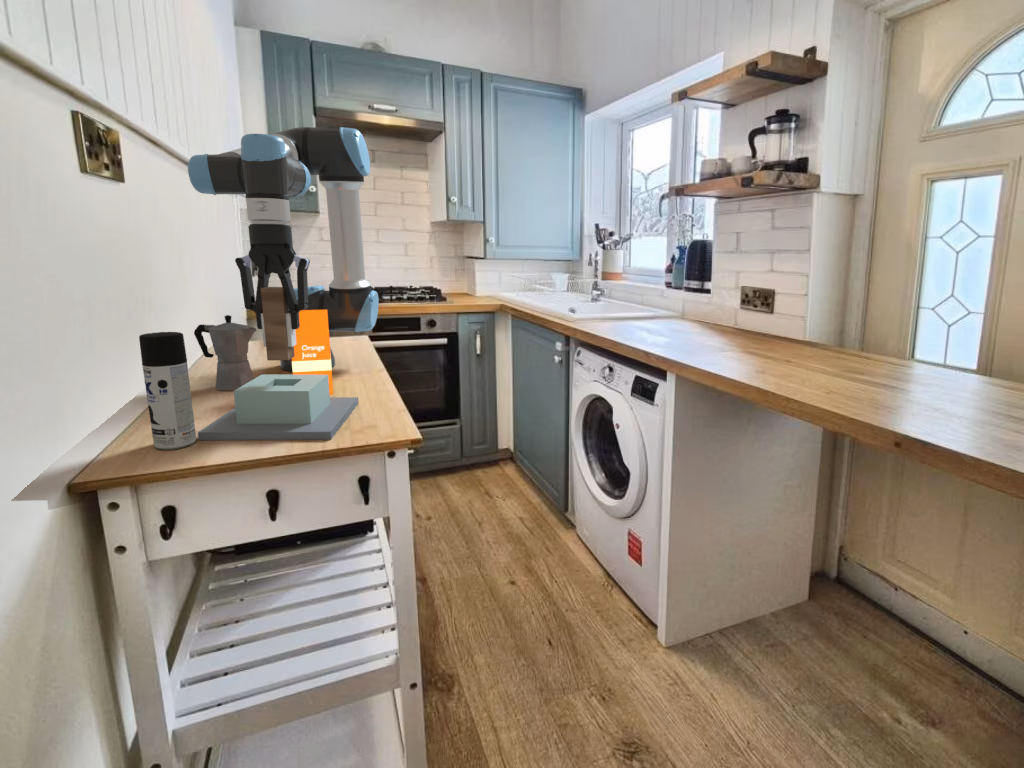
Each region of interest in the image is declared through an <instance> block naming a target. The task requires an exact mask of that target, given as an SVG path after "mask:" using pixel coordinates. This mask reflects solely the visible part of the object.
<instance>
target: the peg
mask: <svg viewBox="0 0 1024 768" xmlns="http://www.w3.org/2000/svg"><path fill="white" fill-rule="evenodd" d="M261 296H262V307H263V318H264V329H265V340H266V347H265V348H266V358H267V361H280V360H290V359H291V358H293V357H295V353H294V346H293V347H288V337H287V325H286V313H289V312H288V311H289V308H288V305H287V301H286V298H285V294H284V288H282V286H268V287H266V288H261Z"/></svg>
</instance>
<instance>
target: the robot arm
mask: <svg viewBox="0 0 1024 768" xmlns="http://www.w3.org/2000/svg"><path fill="white" fill-rule="evenodd" d="M368 149H369V148H368V146H367V142H366V140H365V138H364V136H363V134H362V133H361V132H360V131H359V129H356V128H352V127H343V126H340V127H336V126H335V127H333V126H332V127H331V126H330V127H329V126H328V127H325V126H324V127H320V126H319V127H318V126H317V127H313V126H312V127H308V126H299V127H292V128H289V129H285V130H281V131H279V132H278V131H277V132H275V133H271V134H268V133H247V134H244V135H242V136H241V138H240V148H236V149H232V150H230V151H227V152H220V153H218V154H208V153H204V154H195V155H192V156H191V157H190V159H189V161H188V162H187V163H188V164H187V174H188V178H189V181H190V184H191V186H192V187H193V188H194V190H195V191H197V192H198V193H200V194H205V195H206V194H207V195H214V196H217V195H245V202H246V203H245V205H246V215H247V220H248V221H250V222H251V224H249V225H248V237H249V244H250V245H249V246H250V249H249V251H248V254H246V255H244V256H242V257H236V258H235V259H234V261H235V262H234V263H235V264H236V266H237V268H238V270H239V275H240V283H241V289H242V297H243V302H244V303H243V304H244V305H243V306H244V309H246V311H247V310H250V311H252V312H254V313H255V317H256V327H257V330H262V331H261V333H262V343H263V347H264V348H266V340H265V329H264V318H263V307H262V296H261V288H266V287H269V282H270V278H271V274H276V275H277V277H278V278H279V280H280V283H281V287H282V288H284V294H285V298H286V301H287V305H288V308H289V311H288V312H289V313H286V325H287V337H288V347H293V346H295V345H296V332H295V329H299V327H300V321H299V312H300V311H301V310H327V314H328V329H329V332H355V333H360V332H369V331H370V332H371V331H372V329H374V328H375V326H376V323H377V319H378V315H379V314H378V313H379V304H380V303H379V300H380V299H379V293H378V292H377V291H376V290H373V289H372V284H371V282H370V281H369V280H368V279H367V278H366V273H365V255H364V246H363V245H364V242H363V229H362V215H361V199H360V189H361V187H363V185H364V184H365V177H368V176H369V175H370V173H371V160H370V154H369V150H368ZM311 176H318V182H319V184H320V185H321V186H323V187H324V188H325V195H326V205H327V216H328V228H329V239H330V251H331V262H332V273H333V279H332V281H331V282H330V283H329V284H328V290H325V287H324V285H322V284H321V285H318V284H317V285H311V286H310V285H309V284H308V268H309V266H310V263H311V260H310V259H309V258H307V257H306V258H305V257H302V256H299V255H298V254H297V253H296V251H295V250H294V247H293V245H294V243H293V230H292V226H291V225H290V224H289V223H290V222H291V221H292V219H291V208H290V205H291V204H290V197H291V198H297V197H301V196H303V195H305V194H306V193H307V192H308V190H309V189H310V187H311V185H312V184H311V183H312V177H311ZM252 263H254V265H255V266H256V267H257V284H256V294H255V289H254V280H253V272H252V268H251V267H252ZM293 263H294V264H295V267H296V268H297V270H296V280H297V281H296V284H297V285H296V287H294V286H293V285H294V284H293V281H292V279H291V276H292V275H291V271H290V267H291V266H292V264H293ZM308 285H309V286H308ZM330 354H331V366H332V368H333V367H335V366H336V357H335V355H334V353H333V349H332V348H331V346H330ZM279 362H280V369H281V370H284V371H290V372H293V370H292V358H291V359H290V360H279ZM334 365H335V366H334Z"/></svg>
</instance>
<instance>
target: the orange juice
mask: <svg viewBox="0 0 1024 768" xmlns="http://www.w3.org/2000/svg"><path fill="white" fill-rule="evenodd" d="M299 321H300V327H299V329H295V332H296V345H295V346H294V353H295V357H293V358H292V370H293V371H292V374H310V375H328V380H329V395H333V394H334V386H333V385H334V384H333V369H332V368H333V367H332V366H331V354H330V347H331V341H330V331H329V329H328V314H327V310H301V311H300V312H299Z"/></svg>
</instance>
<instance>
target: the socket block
mask: <svg viewBox="0 0 1024 768" xmlns="http://www.w3.org/2000/svg"><path fill="white" fill-rule="evenodd" d="M233 396H234V408H232V409H231V410H229V411H227V412H226V413H224V414H223V415H222V416H220V417H218V418H217V419H216V420H214V421H212V422H211V423H210V424H209V425H207V426H205V427H204V428H202V429H201V430H199V431H198V432H197V439H198V440H199V441H252V440H254V441H255V440H256V441H260V440H261V441H262V440H263V441H267V440H268V441H269V440H270V441H271V440H272V441H275V440H276V441H277V440H278V441H280V440H282V441H283V440H284V441H285V440H286V441H287V440H292V441H293V440H295V441H296V440H310V441H311V440H332V439H333V438H334V437H335V435H336V434H337V432H339V430H340V429H341V427H342V426H343V425H344V423H345V422H346V421H347V420H348V418H349V417H350V416H351V415H352V413H353V412H354V411H355V409H356V408H357V407H358V405H359V404H358V403H359V402H360V401H359V397H343V396H341V397H331V394H329V380H328V375H310V374H293V373H292V374H284V373H282V374H276V373H275V374H271V373H270V374H269V373H267V374H264V373H263V374H259V376H257V377H255V378H254V379H253V380H251V381H250V382H248V383H246V384H245V385H243V386H241V387H240V388H238V389H236V390H235V391H233ZM355 407H356V408H355ZM352 411H353V412H352ZM349 415H350V416H349Z"/></svg>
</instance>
